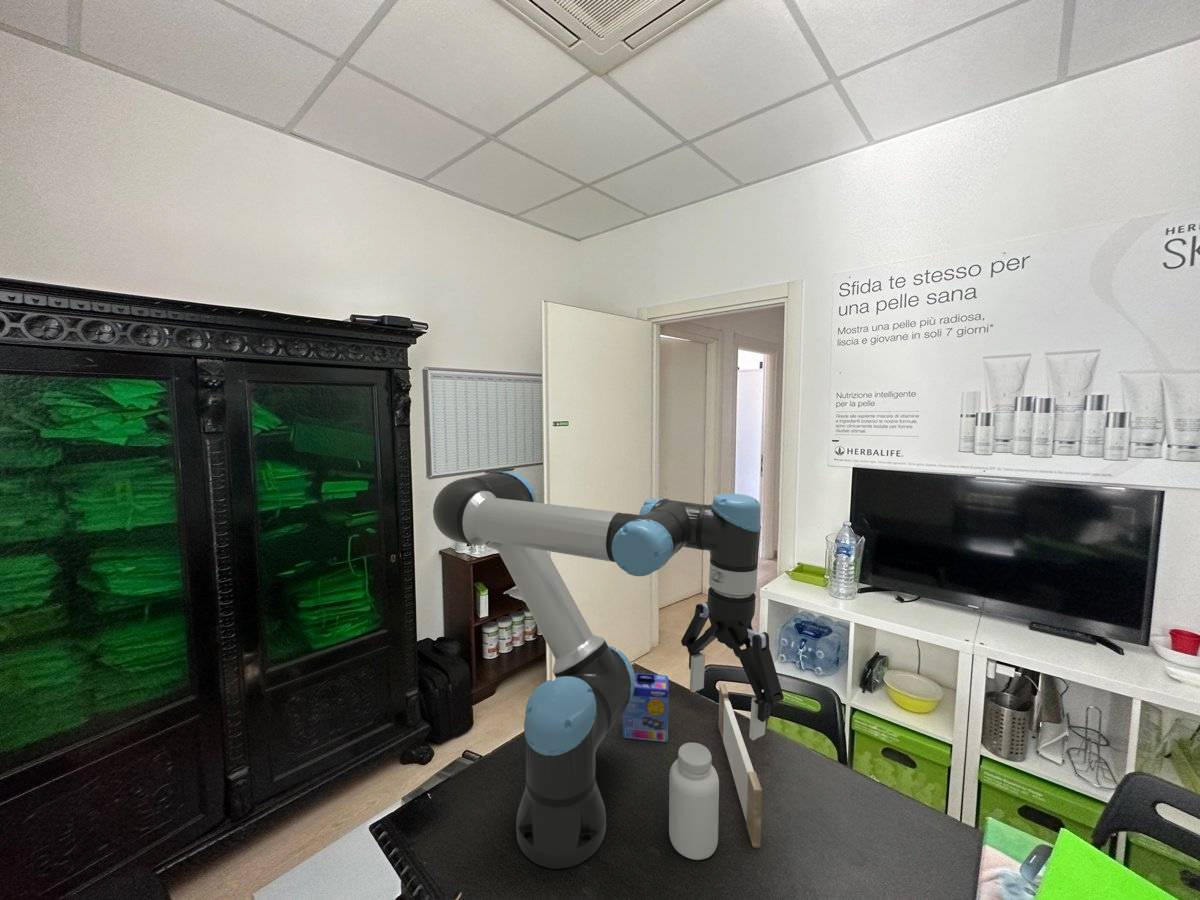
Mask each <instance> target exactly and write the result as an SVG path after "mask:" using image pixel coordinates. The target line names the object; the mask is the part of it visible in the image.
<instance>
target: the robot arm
mask: <svg viewBox="0 0 1200 900" xmlns="http://www.w3.org/2000/svg"><path fill="white" fill-rule="evenodd" d="M536 499H537V497H536V492H535V490H534V488H533V486H532V484H531V483H530V482H529V480H528V479H526V478H525V477H524V476H523V475H521V474H520V473H517V472H514V471H503V470H502V471H493V472H489V473H487V474H481V475H477V476H470V477H466V478H465V477H464V478H459V479H456V480H454V481H452V482H450V483H448V484H446V485H445V486H444V487H443V488H442V489H441V490H440V491H439V492H438V494H437V496H436V498H435V499H434V502H433V508H432V515H433V521H434V524H435V525H436V527H437V529H438V531H440V532H441V534H443V536H445V537H447V539H450V540H452V541H455V542H458V543H463V544H468V545H474V546H483V545H486V547H487V548H488V549H493V550H496V551H497V552H498V553H499V556H500V558H501V559H502V562H503V563H504V565H505V567H506V569H507V570H508V572H509V575H510V576H511V578H512V580H513V582H514V584H515V586H516V588H517V589H518V591H519V594H520V595H521V597H522V599H523V601H524V604H526V607H527V608H528V610H529V612H530V614H531V616H532V618H533V620H534V622H535V623H536V626H537V627H538V630H539V632H540V634H541V635H542V636H543V638H544V640H545V644H547V647H548V648H549V650H550V651H551V653H552V656H553V658H554V663H553V668H552V673H553V675H554V676H555V679H554V680H551V679H549V680H547V681H544V682H542V683H541V684H540V685H539V686H537V687H536V688H535V689H534V690H533V692H532V693H531V694H530V696H529V697H528V700H527V703H526V705H525V713H524V714H525V716H524V721H523V731H524V736H525V737H524V739H525V741H524V742H525V743H524V745H525V788H524V791H523V793H522V797H521V800H520V803H519V806H518V809H517V814H516V819H515V821H516V823H515V826H516V827H515V828H516V830H515V831H516V832H515V833H516V834H515V835H516V841H517V844H518V847H519V848H520V850H521V852H522V853H523V855H525V857H526V858H528V859H529V860H530V861H531V862H533V863H535V864H536V865H538V866H541V867H544V868H547V869H554V870H556V869H557V870H558V869H567V868H572V867H575V866H578V865H580V864H581V863H583V862H585V861H587V860H588V859H590V858H591V857H592V856H593V855H594V854H595V853H596V852H597V851H598V849H599V848H600V846H601V845H602V843H603V840H604V838H605V835H606V831H607V830H606V829H607V813H606V812H607V811H606V806H605V803H604V800H603V797H602V794H601V792H600V788H599V785H598V783H597V780H596V753H597V751H598V747H599V746H600V745H601V743H602V742H603V740H604V738H606V736H607V735H608V733H609V732H610V730H611V729H612V727H614V725H615V723H616V722H617V721H618V719H619V718H620V716H621V715H623V712H624V711H625V710H626V708H627V706H628V704H629V702H630V699H631V698H632V696H633V693H634V689H635V674H634V673H635V671H634V668H633V666H632V663H631V661H630V659H628V658H629V657H627V656H626V654H625V653H624V652H622V651H621V650H617V649H616V647H614V646H611V645H608V644H607V642H606V639H605V638H604V637H602V636H598V635H595V634H594V633H593V632H592V630H591V629H590V626H589V625H588V623H587V621H586V619H585V617H584V616H583V614H582V612H581V610H580V609H579V606H578V605H577V604H576V601H575V600H574V598H573V596H572V593H571V592H570V589H569V588H568V587H567V585H566V582H565V581H564V579H563V577H562V576H561V574H560V572H559V570H558V569H557V567H556V565H555V563H554V561H553V559H552V558H551V555H550V554H549V552H551V553H558V554H564V555H568V556H569V555H570V556H575V557H581V558H586V559H587V558H588V559H593V560H598V561H599V560H601V561H605V562H611V563H616V565H617V566H618V567H619V568H620V569H621V570H623V571H624V572H626V574H628V575H630V576H633V577H646V576H650V575H651V574H653V573H654V572H657V571H659V570H660V569H662V568H663V567H664V566H665V565H666V564H667V563H668V562H669V560H671V558H672V557H673V556H675V555H676V554H677V553H679V551H681V549H683V548H687V549H694V550H700V551H709V570H708V571H709V573H708V585H709V588H708V589H707V601H704V602H701V603H698V604H696V605H695V609H694V615H693V618H692V619H691V621H690V623H689V624H688V627H687V628H686V631H685V633H684V635H683V636H682V639H681V640H680V643H681V645H682V646H683V647H686V649H687V652H688V654H689V656H688V657H689V659H688V668H689V670H690V671H689V672H690V673H689V691H690V692H691V693H694V692H697V691H700V690H702V689H704V687H705V667H706V654H705V653H704V652H701V651H705V648H707V646H708V645H710V644H711V643H712V642H714V641H715V640H716V639H717V642H718V643H720V644H724V645H725V646H726V647H727V648H729V649H730V650H732V651H733V654H734V656H735V657H737V658H738V659H739V662H740V664H741V666H742V668H743V669H744V672H745V675H746V677H747V679H748V682H749V684H750V686H751V688H752V689H751V690H752V691H753V692H754V697H751V709H750V717H749V718H750V720H749V736H748V737H749V739H750V740H751V741H755V740H757V739H758V738H760V737H763V736H764V735H766V724H767V723H766V722H767V721H768V720H769V719H770V718H771V706H773V705H776V704H777V703H780V702H782V701H783V700H784V699H785V698H784V694H783V690H782V687H781V683H780V679H779V677H778V673H777V669H776V666H775V663H774V659H773V655H772V653H771V650H770V636H769V633H768V632H766V631H763V632H758V631H755V630H754V629H753V625H752V621H753V619H754V616H755V614H756V613H755V611H756V600H757V599H756V591H757V587H758V586H757V584H758V567H759V565H758V564H759V553H760V539H761V530H762V529H761V528H762V526H761V504H760V501H758V499H756V498H755V497H753V496H750V495H747V494H746V495H745V494H739V493H719V494H717V495H715V496H714V497H713V500H712V502H711V504H704V503H702V504H701V503H695V502H688V501H687V502H686V501H679V500H673V499H672V500H671V499H669V498H649V499H647V500H645V501H644V502H643V505H642V506H641V508H640V510H639V514H634V513H629V512H624V513H623V512H619V511H613V510H612V511H611V510H604V509H595V508H594V509H592V508H584V507H577V506H570V505H569V506H567V505H559V504H551V503H543V502H542V503H541V502H536ZM708 620H709V622H710V626H709V627H708V628H707V629H706V630H704V633H703V634H702V635H701V636H700V634H701V632H702V630H703V629H704V627H705V625H706V623H707V621H708ZM744 645H745V648H742V649H741V647H743V646H744Z"/></svg>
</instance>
